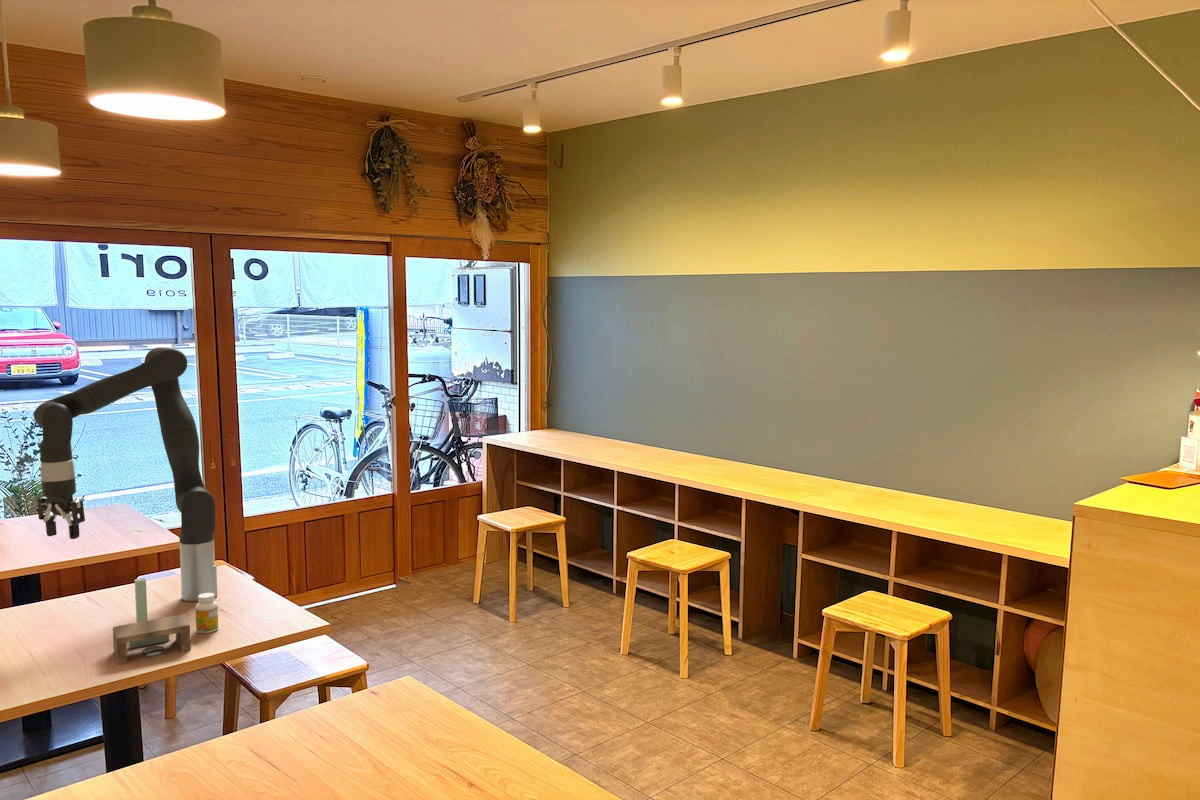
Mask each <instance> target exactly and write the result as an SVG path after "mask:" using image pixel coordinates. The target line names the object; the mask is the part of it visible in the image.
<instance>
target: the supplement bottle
mask: <svg viewBox="0 0 1200 800" xmlns="http://www.w3.org/2000/svg"><path fill="white" fill-rule="evenodd" d="M215 598H216V597H214V593H203V594H200V595H199V596H198V601H197V603H196V604H195V629H196V630H195V631H196V632H197V633H198V634H210V633H214V632H216V631H217V630H218V629H219V611H218V610H219V607H218V602H217V601H216V600H215Z"/></svg>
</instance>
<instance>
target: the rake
mask: <svg viewBox="0 0 1200 800" xmlns="http://www.w3.org/2000/svg"><path fill="white" fill-rule="evenodd" d="M134 593H135V594H134V595H135V598H134V599H135V614H136V615H135V618H136V622H135V623H138V622H143V621H149V620H148V602H147V601H148V599H147V579H146V578H145V577H142V578H134ZM165 642H170V635H165V636H159V637H154V638H149V639H143V640H138V641H133V642H128V645H129V647H128V648H129V649H133V648H140V647H144V646H148V645H154V644H160V643H165Z"/></svg>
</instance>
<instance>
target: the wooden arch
mask: <svg viewBox="0 0 1200 800" xmlns="http://www.w3.org/2000/svg"><path fill="white" fill-rule="evenodd" d="M190 627H191V626H190V623H189V621H188V619H187V617H186V616H185V614H179V615H178V614H177V615H172V616H168V617H167V616H166V617H161V618H156V619H149V620H148V621H143V622H138V623H137V622H133V623H128V624H127V623H126V624H123V625H117V626H116V625H115V626H112V637H113V639H112V640H113V641H112V642H113V653H114V657H115V660H116V663H117V665H121V664H126V663H128V649H127V648H128V647H127V643H129V642H133V641H138V640H143V639H149V638H154V637H159V636H165V635H169V636H170V635H174V634H175V641H176V643H177V645H178V646H179V649H180V651H181V653H182V652H183V653H184V652H187V651H191V649H192V648H191V645H192V644H191V628H190Z"/></svg>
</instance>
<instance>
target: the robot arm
mask: <svg viewBox="0 0 1200 800" xmlns="http://www.w3.org/2000/svg"><path fill="white" fill-rule="evenodd" d="M187 368H188V359H187V357H186V355H185V353H183V352H182V351H181V350H179V349H177V348H174V347H168V346H167V347H161V346H160V347H155V348H152V349H150V350H149V351H148V352H147V353H146V355H145V357H144V361H143V363H141V364H139V365H137V366H136V367H135V366H134V367H132V368H130V369H128V370H125V371H122V372H119V373H116V374H113V375H110V376H107V377H104V378H102V379H99V380H96V381H93V382H91V383H89V384H87V385H85V386H83V387H80V388H78V389H76V390H75V391H73V392H70V393H67V394H63V395H61V396H58V397H55V398H52V399H49V400H47V401H44V402H43V403H41V404H39V405H38V406H37V407H36V408H35V410H34V411H33V412H34V413H33V419H34V421H35V423H37V425H38V426H40V427H41V428H42V441H40V442H39V456H40V457H39V458H40V481H41V483H40V484H41V493H42V497H39V498H37V515H38V519H39V520H40V521H41V520H42V521H43V523H45V532H46V536H47V537H54V536H56V535H57V534H58V533H57V522H56V519H57V517H58V516H60V517H62V519H63V520H65V521H66V522H67V524H68V535H69V539H70V540H75V539H78V538H80V524H82V523H84V522H85V521H86V517H85V516H86V515H85V511H84V510H85V509H84V503H83V502H84V501H83V499H77V500H74V498H73V496H74V494H76V492H77V485H76V483H77V482H76V475H75V474H76V473H75V465H74V460H73V450H72V443H71V442H72V441H71V440H72V436H73V425H74V424H73V419H74V418H76V417H78V416H81V415H82V416H83V415H88V414H92V413H94V412H96V411H98V410H101V409H103V408H105V407H107V406H109V405H111V404H113V403H115V402H118V401H119V400H121V399H124V398H125V397H127V396H129V395H132V394H133V393H136V392H138V391H141V390H142V389H145V388H148V387H151V389H152V392H153V396H154V402H155V406H156V410H157V411H156V412H157V413H156V414H157V417H158V421H159V426H160V433H161V437H162V440H163V441H162V442H163V445H164V449H165V453H166V457H167V460H168V462H169V466H170V469H171V473H172V478H173V486H174V496H175V505H176V508H177V510H178V511H179V513H180V516H181V517H180V520H181V521H180V522H181V525H180V526H181V530H180V532H179V536H178V537H179V560H180V561H179V562H180V565H179V566H180V583H181V584H180V585H181V586H180V587H181V589H180V590H181V600H183V601H186V602H198V596H199V595H200V594H203V593H214V597H215V598H216V597H218V577H217V576H218V574H217V573H218V571H217V568H218V567H217V565H216V563H215V562H216V559H215V557H216V556H215V532H216V501H215V498H214V495H212V493H211V492H209V490H207V489H206V486H205V483H204V482H203V479H202V475H201V472H200V465H199V464H200V441H199V440H200V439H199V434H198V429H197V424H196V422H195V421H196V420H195V418H194V416H193V414H192V411H191V409H190V408H189V406H188V404H187V402H186V400H185V399H184V396H183V395H182V391H181V387H180V381H179V377H181V376H182V375H184V373H185V372H186V370H187ZM44 511H45V512H44ZM78 515H79V516H78Z"/></svg>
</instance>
